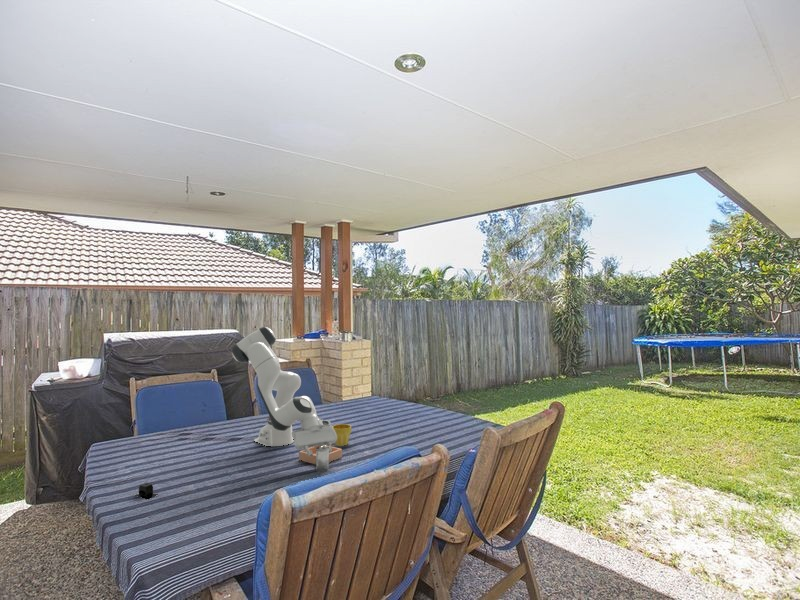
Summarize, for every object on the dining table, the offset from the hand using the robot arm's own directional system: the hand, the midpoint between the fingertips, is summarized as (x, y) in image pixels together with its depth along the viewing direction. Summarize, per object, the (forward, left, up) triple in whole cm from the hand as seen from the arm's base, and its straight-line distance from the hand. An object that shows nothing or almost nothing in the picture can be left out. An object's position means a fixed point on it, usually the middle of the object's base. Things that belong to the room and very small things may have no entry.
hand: (320, 453), depth 200 cm
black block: (-36, -59, -8) cm, 69 cm away
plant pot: (-17, +34, -7) cm, 39 cm away
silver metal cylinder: (+1, 0, -7) cm, 7 cm away
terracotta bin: (-10, +11, -7) cm, 16 cm away
